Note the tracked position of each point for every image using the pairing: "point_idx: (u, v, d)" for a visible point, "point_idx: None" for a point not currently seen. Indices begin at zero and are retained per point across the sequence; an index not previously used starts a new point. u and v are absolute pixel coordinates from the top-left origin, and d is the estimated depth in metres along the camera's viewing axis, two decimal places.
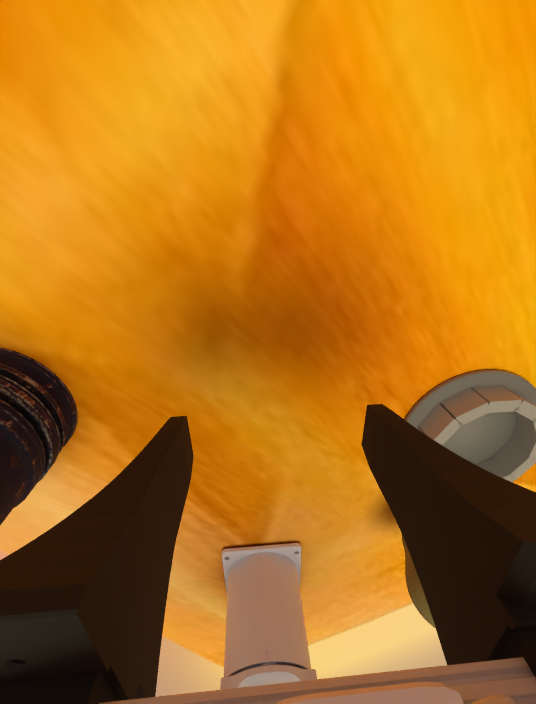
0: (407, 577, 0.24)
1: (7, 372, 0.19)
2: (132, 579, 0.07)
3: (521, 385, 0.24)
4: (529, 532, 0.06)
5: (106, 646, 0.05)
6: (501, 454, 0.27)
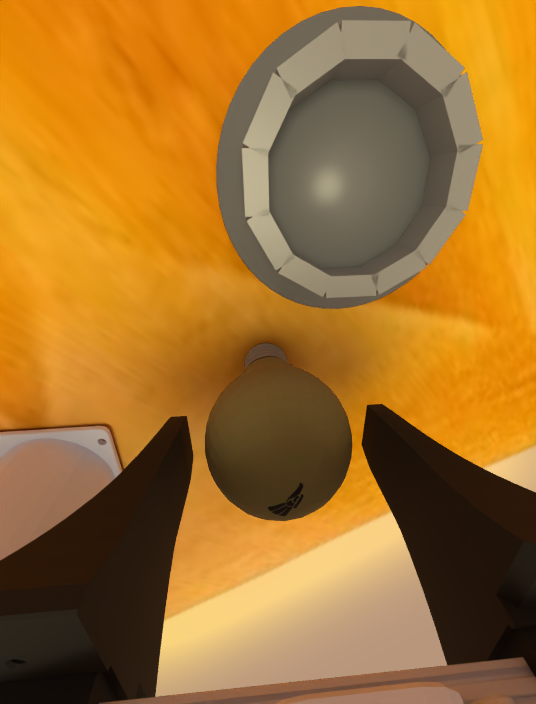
0: None
1: None
2: (132, 579, 0.07)
3: None
4: (529, 532, 0.06)
5: (106, 646, 0.05)
6: (408, 231, 0.15)
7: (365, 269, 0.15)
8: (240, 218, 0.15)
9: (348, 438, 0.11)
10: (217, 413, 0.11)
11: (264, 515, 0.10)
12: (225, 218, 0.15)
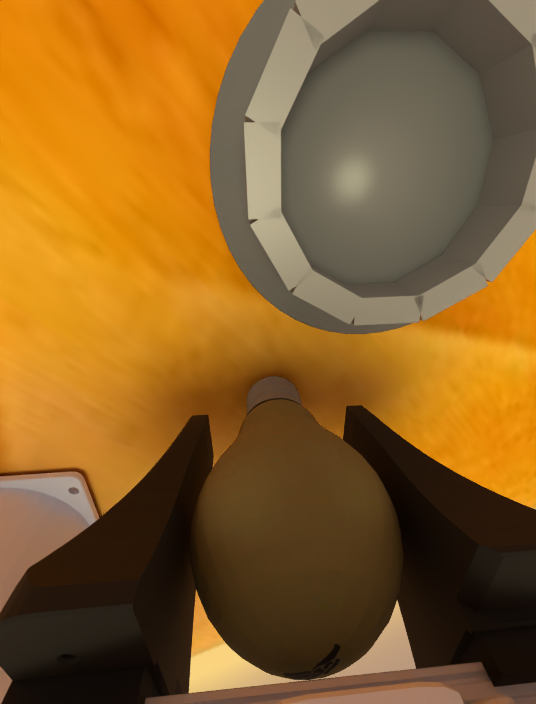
0: None
1: None
2: (170, 576, 0.07)
3: None
4: (486, 536, 0.06)
5: (153, 641, 0.05)
6: (459, 238, 0.12)
7: (403, 286, 0.12)
8: (241, 221, 0.11)
9: (400, 549, 0.07)
10: (208, 509, 0.07)
11: None
12: (222, 221, 0.11)
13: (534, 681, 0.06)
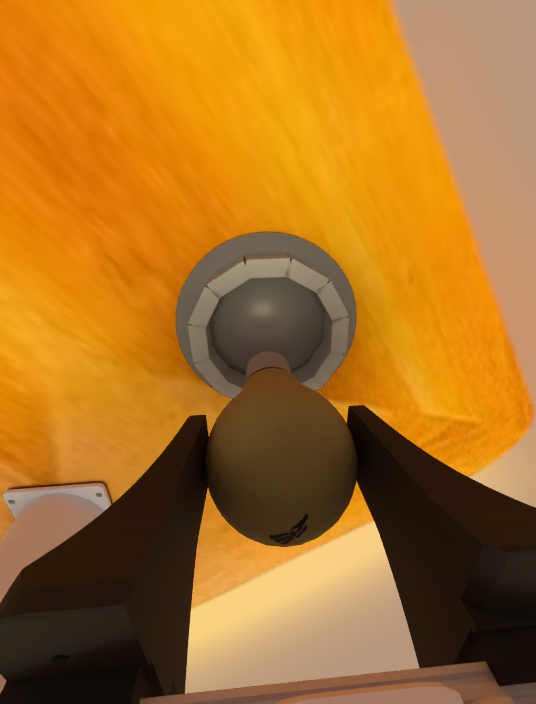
0: None
1: None
2: (166, 576, 0.07)
3: (313, 253, 0.19)
4: (491, 535, 0.06)
5: (148, 641, 0.05)
6: (314, 356, 0.21)
7: None
8: None
9: (355, 466, 0.10)
10: (221, 432, 0.10)
11: (264, 542, 0.10)
12: (183, 351, 0.21)
13: None
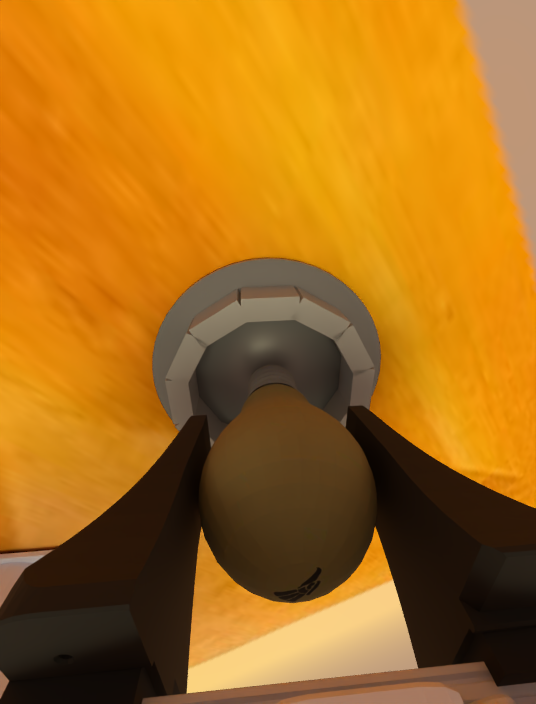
0: None
1: None
2: (168, 576, 0.07)
3: (328, 285, 0.15)
4: (489, 535, 0.06)
5: (150, 642, 0.05)
6: (327, 409, 0.17)
7: None
8: None
9: (375, 503, 0.09)
10: (218, 462, 0.09)
11: (267, 598, 0.08)
12: (163, 403, 0.17)
13: None
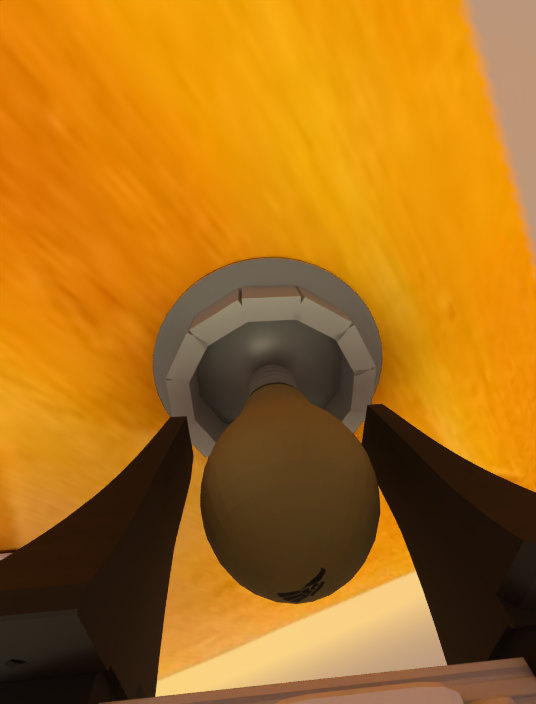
0: None
1: None
2: (132, 579, 0.07)
3: (329, 285, 0.14)
4: (529, 532, 0.06)
5: (106, 646, 0.05)
6: (328, 409, 0.17)
7: None
8: None
9: (378, 503, 0.09)
10: (220, 463, 0.09)
11: (271, 599, 0.08)
12: (164, 403, 0.17)
13: None
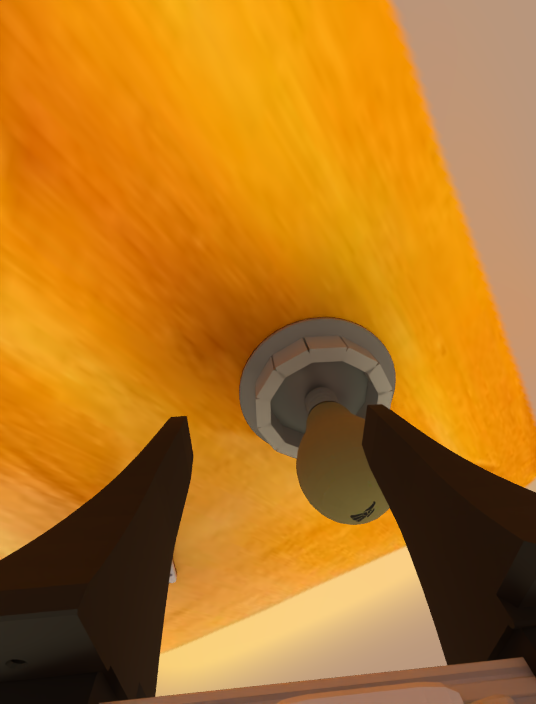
0: (297, 455, 0.18)
1: None
2: (132, 579, 0.07)
3: (361, 335, 0.22)
4: (529, 532, 0.06)
5: (106, 646, 0.05)
6: None
7: None
8: (253, 412, 0.24)
9: None
10: (314, 450, 0.16)
11: (345, 520, 0.15)
12: (244, 412, 0.24)
13: None
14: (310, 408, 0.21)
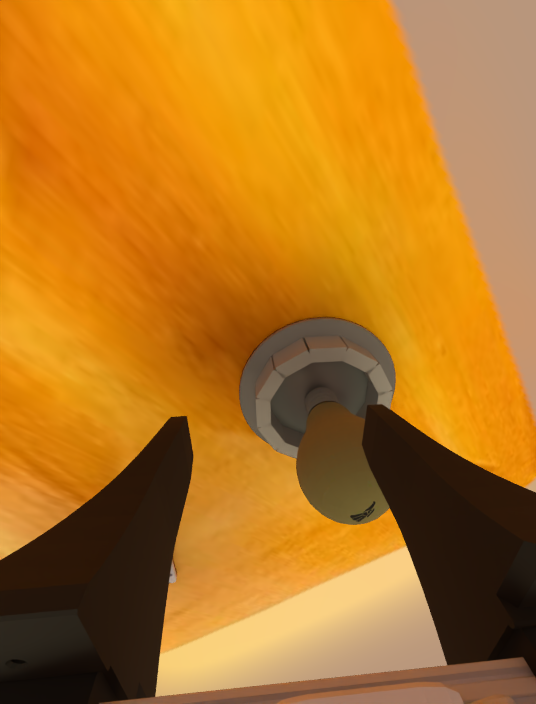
0: (297, 455, 0.18)
1: None
2: (132, 579, 0.07)
3: (361, 335, 0.22)
4: (529, 532, 0.06)
5: (106, 646, 0.05)
6: None
7: None
8: (253, 412, 0.24)
9: None
10: (314, 450, 0.16)
11: (345, 520, 0.15)
12: (244, 412, 0.24)
13: None
14: (310, 408, 0.21)
